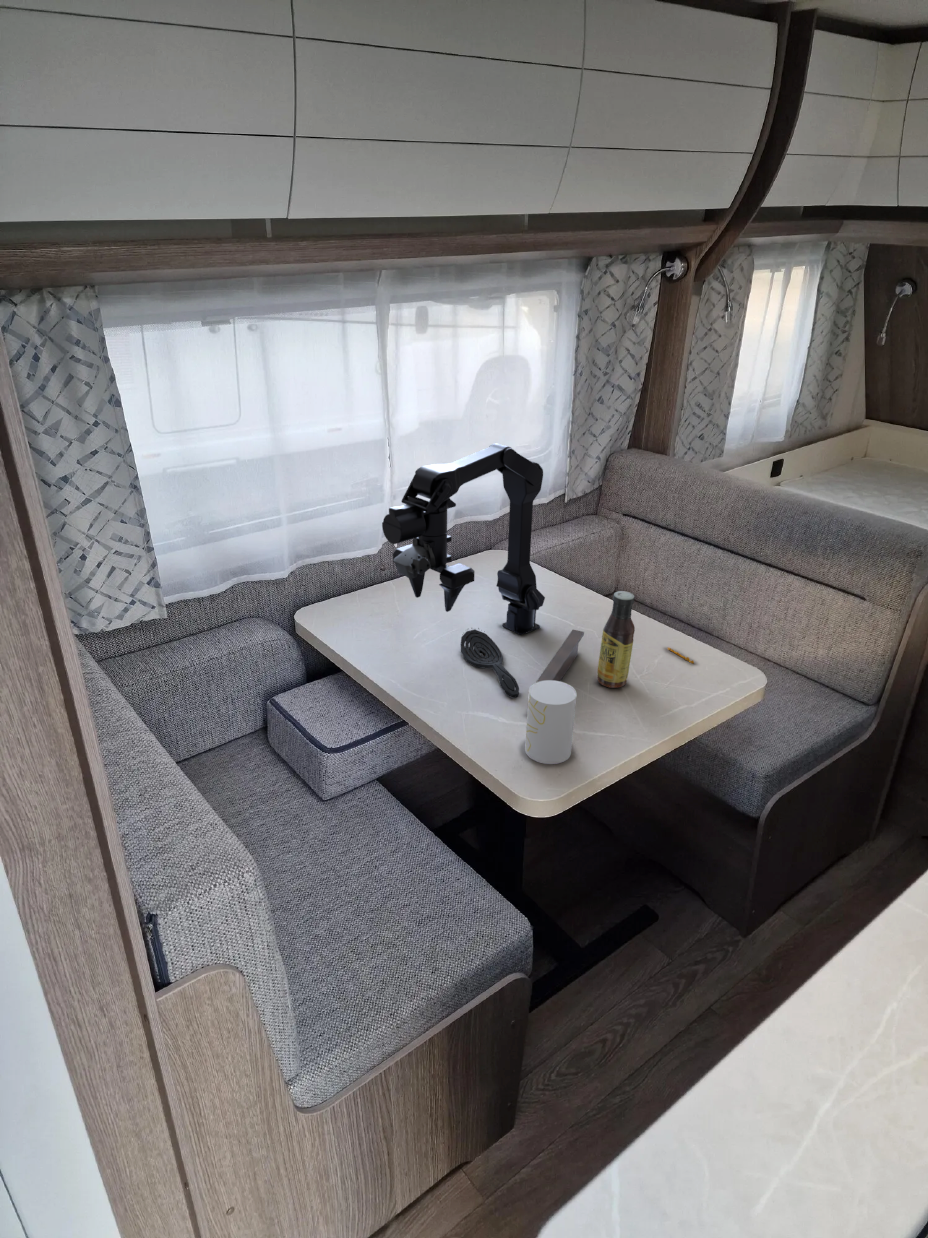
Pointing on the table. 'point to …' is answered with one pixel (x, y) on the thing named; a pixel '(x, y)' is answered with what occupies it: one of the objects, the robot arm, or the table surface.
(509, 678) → the hairbrush
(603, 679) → the sauce bottle
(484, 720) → the table surface
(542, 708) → the cup
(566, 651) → the rail
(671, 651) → the golden brown bumpy stick
